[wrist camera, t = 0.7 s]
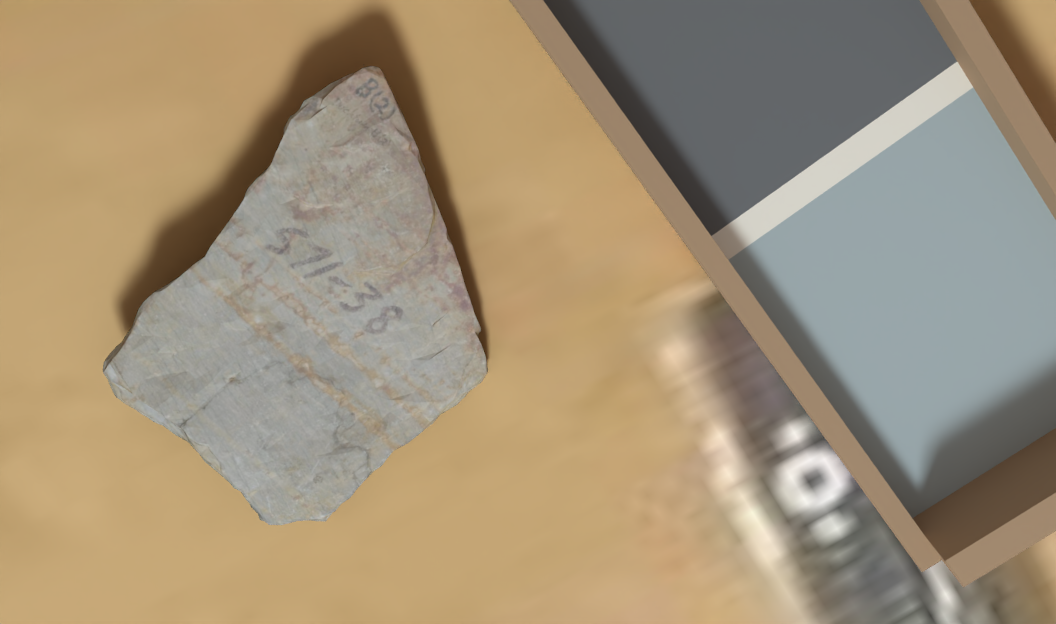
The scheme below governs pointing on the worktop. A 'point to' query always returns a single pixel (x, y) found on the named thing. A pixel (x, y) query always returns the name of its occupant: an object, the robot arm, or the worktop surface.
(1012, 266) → the lane
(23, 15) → the worktop surface
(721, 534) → the worktop surface
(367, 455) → the stone
